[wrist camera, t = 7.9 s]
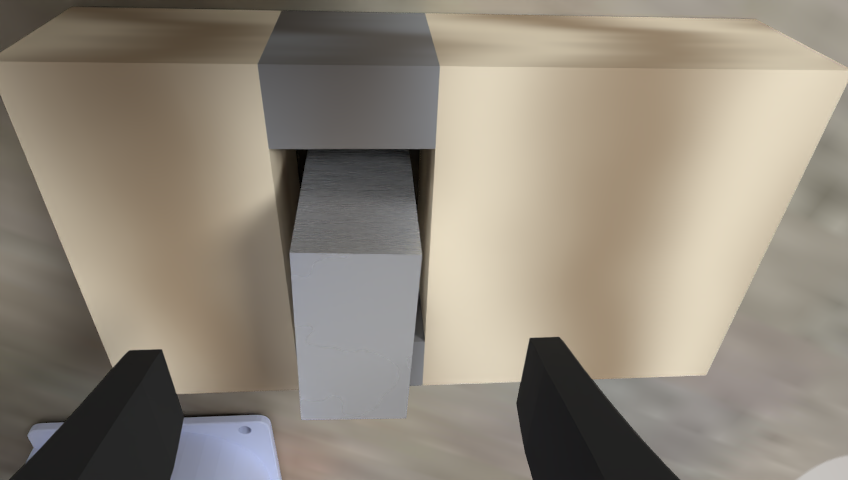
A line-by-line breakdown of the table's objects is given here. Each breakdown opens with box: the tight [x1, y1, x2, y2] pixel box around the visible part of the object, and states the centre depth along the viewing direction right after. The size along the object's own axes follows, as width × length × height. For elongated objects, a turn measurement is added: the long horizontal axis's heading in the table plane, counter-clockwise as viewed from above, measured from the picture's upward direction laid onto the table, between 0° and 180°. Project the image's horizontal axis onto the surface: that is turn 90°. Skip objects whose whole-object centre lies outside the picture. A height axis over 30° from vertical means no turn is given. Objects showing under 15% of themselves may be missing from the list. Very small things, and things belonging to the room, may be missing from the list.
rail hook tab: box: [290, 149, 422, 420], centre depth 15 cm, size 2×5×7 cm, turn 175°
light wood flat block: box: [0, 7, 848, 394], centre depth 17 cm, size 18×10×4 cm, turn 88°
